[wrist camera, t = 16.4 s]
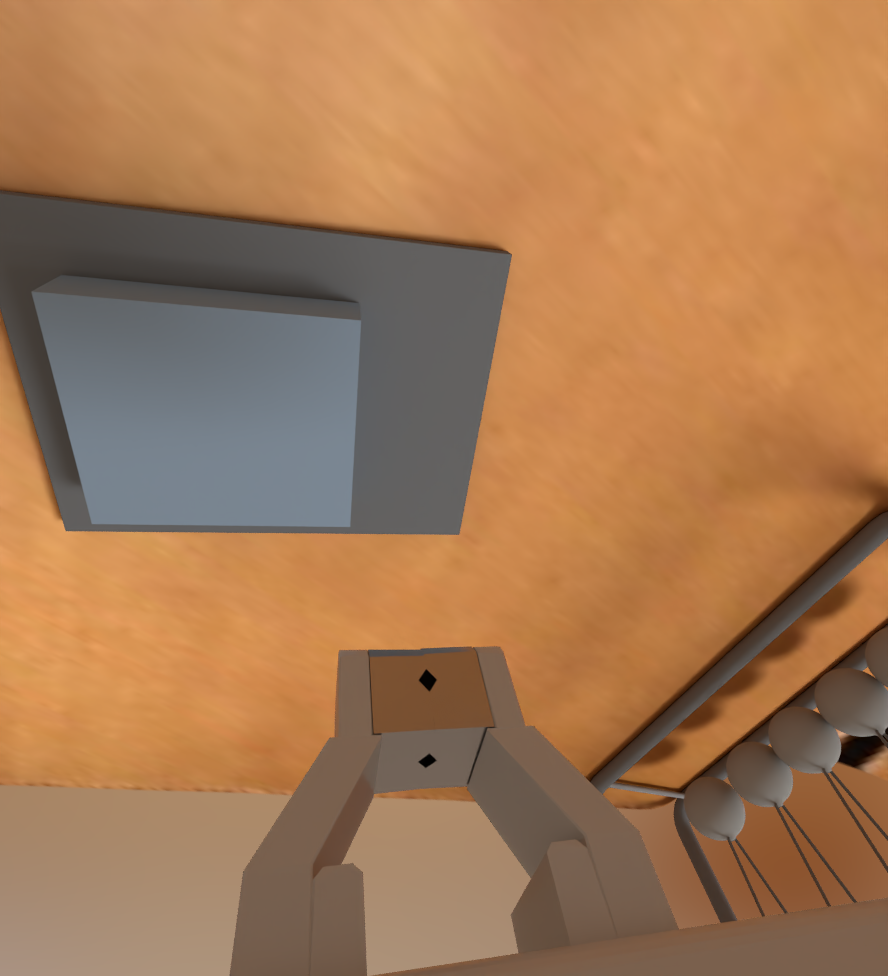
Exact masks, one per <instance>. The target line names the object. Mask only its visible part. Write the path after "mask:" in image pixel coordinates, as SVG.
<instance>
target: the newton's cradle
mask: <svg viewBox="0 0 888 976" xmlns="http://www.w3.org/2000/svg"><path fill="white" fill-rule="evenodd" d="M887 538H888V511H887V512H885V513H882V514H881V515H879V516H878V517H876V518H875V519H873V520H872V521H871V522H869V523H868V524H867V525H866V526H865V527H864V528H863V529H862V530H861V531H860V532H859V533H857V534H856V535H855V536H854V537H853V538H852V539H851V540H850V541H849V542H848V543H847V544H846V545H844V546H843V547H842V548H841V549H840V550H839V551H838V552H837V553H836V554H835V555H834V556H833V557H831V558H830V559H829V560H828V561H827V562H826V563H825V564H824V565H823V566H822V567H821V568H820V569H818V570H817V571H816V572H815V573H814V574H813V575H812V576H811V577H810V578H809V579H808V580H807V581H805V582H804V583H803V584H802V585H801V586H800V587H799V588H798V589H797V590H796V591H795V592H794V593H792V594H791V595H790V596H789V597H788V598H787V599H786V600H785V601H784V602H783V603H782V604H781V605H779V606H778V607H777V608H776V609H775V610H774V611H773V612H772V613H771V614H770V615H769V616H768V617H766V618H765V619H764V620H763V621H762V622H761V623H760V624H759V625H758V626H757V627H756V628H755V629H753V630H752V631H751V632H750V633H749V634H748V635H747V636H746V637H745V638H744V639H743V640H742V641H740V642H739V643H738V644H737V645H736V646H735V647H734V648H733V649H732V650H731V651H730V652H729V653H727V654H726V655H725V656H724V657H723V658H722V659H721V660H720V661H719V662H718V663H717V664H716V665H715V666H713V667H712V668H711V669H710V670H709V671H708V672H707V673H706V674H705V675H704V676H703V677H702V678H700V679H699V680H698V681H697V682H696V683H695V684H694V685H693V686H692V687H691V688H690V689H689V690H687V691H686V692H685V693H684V694H683V695H682V696H681V697H680V698H679V699H678V700H677V701H676V702H674V703H673V704H672V705H671V706H670V707H669V708H668V709H667V710H666V711H665V712H664V713H663V714H661V715H660V716H659V717H658V718H657V719H656V720H655V721H654V722H653V723H652V724H651V725H650V726H648V727H647V728H646V729H645V730H644V731H643V732H642V733H641V734H640V735H639V736H638V737H637V738H635V739H634V740H633V741H632V742H631V743H630V744H629V745H628V746H627V747H626V748H625V749H624V750H622V751H621V752H620V753H619V754H618V755H617V756H616V757H615V758H614V759H613V760H612V761H611V762H609V763H608V764H607V765H606V766H605V767H604V768H603V769H602V770H601V771H600V772H599V773H598V774H596V775H595V776H594V778H593V779H592V780H591V782H590V783H591V784H592V785H593V786H594V787H595V788H596V789H597V790H598V791H599V792H600V793H601V794H602V795H603V793H604V792H605V790H606V789H607V788H609V787H610V788H617V789H623V790H630V791H636V792H643V793H649V794H656V795H662V796H669V797H675V798H677V800H676V802H675V807H674V821H675V826H676V829H677V831H678V834H679V836H680V838H681V841H682V843H683V845H684V847H685V849H686V851H687V853H688V855H689V857H690V859H691V862H692V863H693V866H694V868H695V870H696V872H697V874H698V876H699V878H700V880H701V883H702V885H703V886H704V889H705V891H706V893H707V895H708V897H709V899H710V901H711V904H712V906H713V908H714V910H715V912H716V914H717V916H718V918H719V920H720V922H721V923H724V922H730V921H737V918H736V916H735V914H734V912H733V911H732V908H731V906H730V904H729V902H728V900H727V898H726V897H725V895H724V892H723V890H722V889H721V886H720V884H719V882H718V880H717V878H716V876H715V874H714V872H713V870H712V869H711V866H710V864H709V862H708V860H707V858H706V856H705V854H704V853H703V850H702V849H701V846H700V844H699V842H698V840H697V838H696V836H695V834H694V832H693V830H692V828H691V825H690V823H689V821H690V822H691V824H692V825H693V826H694V827H695V828H696V829H697V830H698V831H699V832H700V833H701V834H703V835H704V836H706V837H709V838H711V839H715V840H728V842H729V845H730V847H731V849H732V851H733V853H734V855H735V857H736V860H737V862H738V864H739V866H740V869H741V871H742V873H743V875H744V877H745V880H746V882H747V884H748V886H749V888H750V891H751V893H752V895H753V897H754V899H755V902H756V904H757V906H758V908H759V910H760V913H761V915H762V917H763V916H765V915H764V913H763V910H762V908H761V906H760V904H759V902H758V899H757V897H756V895H755V893H754V891H753V889H752V886H751V884H750V882H749V880H748V878H747V876H746V874H745V871H744V869H743V867H742V865H741V863H740V861H739V858H738V856H737V854H736V852H735V850H734V847H733V845H732V843H731V841H734V840H735V841H736V843H737V844H738V846H739V847H740V849H741V850H742V851H743V853H744V854H745V856H746V857H747V859H748V860H749V862H750V863H751V865H752V866H753V867H754V869H755V870H756V872H757V873H758V874H759V876H760V878H761V879H762V881H763V882H764V883H765V885H766V886H767V888H768V889H769V891H770V892H771V894H772V895H773V897H774V898H775V900H776V901H777V902H778V904H779V905H780V907H781V908H782V910H783V911H784V913H788V912H787V911H786V909H785V908H784V907H783V905H782V904H781V902H780V901H779V899H778V898H777V896H776V895H775V894H774V892H773V891H772V889H771V888H770V887H769V885H768V884H767V882H766V881H765V879H764V878H763V876H762V875H761V873H760V872H759V870H758V869H757V868H756V866H755V865H754V863H753V862H752V860H751V859H750V857H749V856H748V855H747V853H746V852H745V850H744V849H743V847H742V846H741V844H740V843H739V842H738V840H737V839H736V835H738V834H739V832H740V831H741V830H742V828H743V825H744V823H745V809H744V805H743V802H742V800H741V798H740V796H741V797H743V798H744V799H745V800H747V801H748V802H750V803H752V804H754V805H758V806H762V807H772V806H774V807H776V809H777V811H778V813H779V815H780V817H781V819H782V821H783V823H784V825H785V826H786V828H787V830H788V832H789V834H790V836H791V838H792V840H793V842H794V844H795V845H796V847H797V849H798V851H799V853H800V855H801V857H802V859H803V860H804V862H805V864H806V866H807V868H808V870H809V872H810V874H811V876H812V877H813V879H814V881H815V883H816V885H817V887H818V889H819V891H820V892H821V894H822V896H823V898H824V900H825V902H826V904H827V906H828V907H830V906H831V905H830V903H829V901H828V900H827V898H826V896H825V894H824V892H823V890H822V888H821V886H820V884H819V883H818V881H817V879H816V877H815V875H814V873H813V871H812V869H811V868H810V866H809V864H808V862H807V860H806V858H805V856H804V854H803V853H802V851H801V849H800V847H799V845H798V843H797V841H796V839H795V838H794V836H793V834H792V832H791V830H790V828H789V826H788V824H787V823H786V821H785V819H784V817H783V815H782V813H781V811H780V810H779V808H780V807H783V809H784V810H785V811H786V813H787V814H788V815H789V817H790V818H791V819H792V821H793V822H794V823H795V825H796V826H797V827H798V829H799V830H800V831H801V833H802V834H803V835H804V837H805V838H806V839H807V841H808V842H809V843H810V845H811V846H812V847H813V849H814V850H815V851H816V853H817V854H818V855H819V857H820V858H821V859H822V861H823V862H824V863H825V865H826V866H827V867H828V869H829V870H830V871H831V873H832V874H833V875H834V877H835V878H836V879H837V881H838V882H839V883H840V885H841V886H842V887H843V889H844V890H845V891H846V893H847V894H848V896H849V897H850V898H851V899H852V901H853V902H854V903H856V902H857V901H856V900H855V899H854V897H853V896H852V895H851V894H850V892H849V891H848V890H847V888H846V887H845V886H844V884H843V883H842V881H841V880H840V879H839V878H838V876H837V875H836V874H835V872H834V871H833V870H832V868H831V867H830V866H829V864H828V863H827V862H826V860H825V859H824V858H823V856H822V855H821V854H820V852H819V851H818V850H817V849H816V847H815V846H814V844H813V843H812V842H811V840H810V839H809V838H808V836H807V835H806V834H805V832H804V831H803V830H802V829H801V827H800V826H799V825H798V823H797V822H796V821H795V819H794V818H793V816H792V815H791V814H790V812H789V811H788V810H787V809H786V807H785V806H784V805H783V802H784V801H785V800H786V799H787V798H788V797H789V795H790V793H791V790H792V787H793V786H792V785H793V777H792V772H791V769H790V767H792V768H793V769H796V770H798V771H801V772H805V773H821V772H822V773H824V774H825V776H826V777H827V779H828V780H829V782H830V783H831V785H832V786H833V788H834V790H835V791H836V793H837V794H838V796H839V797H840V799H841V801H842V802H843V804H844V805H845V807H846V808H847V810H848V811H849V813H850V815H851V816H852V818H853V819H854V821H855V822H856V824H857V825H858V827H859V829H860V830H861V832H862V833H863V835H864V836H865V838H866V839H867V841H868V843H869V844H870V846H871V847H872V849H873V850H874V852H875V854H876V855H877V857H878V858H879V860H880V861H881V863H882V864H883V866H884V868H885V869H886V871H887V872H888V866H887V865H886V863H885V862H884V860H883V859H882V857H881V855H880V854H879V852H878V851H877V849H876V848H875V846H874V845H873V843H872V842H871V840H870V838H869V837H868V835H867V834H866V832H865V831H864V829H863V828H862V826H861V825H860V823H859V822H858V820H857V819H856V817H855V816H854V814H853V812H852V811H851V809H850V808H849V806H848V805H847V803H846V802H845V800H844V798H843V797H842V795H841V794H840V792H839V791H838V789H837V788H836V786H835V785H834V783H833V781H832V780H831V778H830V777H829V775H828V774H827V773H829V772H830V773H831V774H832V776H833V777H834V778H835V779H836V780H837V781H838V783H839V784H840V785H841V786H842V787H843V789H844V790H845V791H846V792H847V793H848V794H849V796H850V797H851V798H852V799H853V800H854V801H855V803H856V804H857V805H858V806H859V807H860V808H861V810H862V811H863V812H864V813H865V814H866V815H867V817H868V818H869V819H870V820H871V821H872V823H873V824H874V825H875V826H876V827H877V828H878V830H879V831H880V832H881V833H882V834H883V835H884V837H885V838H886V839H887V840H888V836H887V835H886V834H885V832H884V831H883V830H882V829H881V828H880V826H879V825H878V824H877V823H876V822H875V821H874V819H873V818H872V817H871V816H870V815H869V813H868V812H867V811H866V810H865V809H864V808H863V807H862V805H861V804H860V803H859V802H858V801H857V799H856V798H855V797H854V796H853V795H852V794H851V792H850V791H849V790H848V789H847V788H846V787H845V786H844V784H843V783H842V782H841V781H840V780H839V778H838V777H837V776H836V775H835V774H834V773H833V771H831V768H832V767H833V766H834V765H835V763H836V762H837V761H838V759H839V756H840V752H841V743H840V739H839V736H838V734H837V731H836V730H835V728H836V729H837V730H839V731H841V732H844V733H846V734H849V735H853V736H860V737H865V736H873V735H877V736H879V738H880V739H881V740H882V742H883V743H884V744H885V745H886V747H887V748H888V743H887V742H886V740H885V739H884V738H883V737H882V735H884V736H885V737H886V738H887V739H888V735H887V734H886V733H885V729H886V728H887V727H888V691H887V689H886V688H885V687H884V686H883V685H885V686H886V687H888V624H887V625H886V626H885V627H883V628H882V629H881V630H880V631H878V632H877V633H875V634H874V635H873V636H872V637H871V638H870V639H869V640H867V641H866V642H865V643H864V644H862V645H861V646H860V647H859V648H858V649H856V650H855V651H854V652H853V653H851V654H850V655H849V656H848V657H846V658H845V659H844V660H843V661H842V662H840V663H839V664H838V665H837V666H835V667H834V668H833V669H832V670H830V671H829V672H828V673H826V674H825V675H823V676H822V677H821V678H820V679H819V680H818V681H817V682H816V683H814V684H813V685H812V686H811V687H809V688H808V689H807V690H806V691H805V692H803V693H802V694H801V695H800V696H798V697H797V698H796V699H795V700H793V701H792V702H791V703H790V704H789V705H787V706H786V707H785V708H784V709H782V710H781V711H779V712H778V713H777V714H776V715H775V716H774V717H773V718H771V719H770V720H769V721H768V722H766V723H765V724H764V725H763V726H761V727H760V728H759V729H758V730H757V731H755V732H754V733H753V734H752V735H750V736H749V737H748V738H747V739H745V740H744V741H743V742H742V743H741V744H739V745H737V746H736V747H735V748H734V749H733V750H732V751H731V752H729V753H728V754H727V755H726V756H724V757H723V758H722V759H721V760H720V761H718V762H717V763H716V764H715V765H713V766H712V767H711V768H710V769H708V770H707V771H706V772H705V773H704V774H702V775H701V776H700V777H699V778H697V779H696V780H694V781H693V782H692V783H691V784H690V785H689V786H688V787H686V788H685V789H684V790H683V791H682V792H681V793H679V792H673V791H666V790H660V789H654V788H648V787H641V786H635V785H629V784H622V783H616V782H615V781H616V780H617V779H619V778H620V777H621V776H622V775H623V774H624V773H625V772H626V771H628V770H629V769H630V768H631V767H632V766H633V765H634V764H635V763H637V762H638V761H639V760H640V759H641V758H642V757H643V756H644V755H646V754H647V753H648V752H649V751H650V750H651V749H652V748H653V747H654V746H656V745H657V744H658V743H659V742H660V741H661V740H662V739H663V738H665V737H666V736H667V735H668V734H669V733H670V732H671V731H672V730H674V729H675V728H676V727H677V726H678V725H679V724H680V723H681V722H682V721H684V720H685V719H686V718H687V717H688V716H689V715H690V714H691V713H693V712H694V711H695V710H696V709H697V708H698V707H699V706H700V705H702V704H703V703H704V702H705V701H706V700H707V699H708V698H709V697H710V696H712V695H713V694H714V693H715V692H716V691H717V690H718V689H719V688H721V687H722V686H723V685H724V684H725V683H726V682H727V681H728V680H730V679H731V678H732V677H733V676H734V675H735V674H736V673H737V672H738V671H740V670H741V669H742V668H743V667H744V666H745V665H746V664H747V663H749V662H750V661H751V660H752V659H753V658H754V657H755V656H756V655H758V654H759V653H760V652H761V651H762V650H763V649H764V648H765V647H766V646H768V645H769V644H770V643H771V642H772V641H773V640H774V639H775V638H777V637H778V636H779V635H780V634H781V633H782V632H783V631H784V630H786V629H787V628H788V627H789V626H790V625H791V624H792V623H793V622H794V621H796V620H797V619H798V618H799V617H800V616H801V615H802V614H803V613H805V612H806V611H807V610H808V609H809V608H810V607H811V606H812V605H814V604H815V603H816V602H817V601H818V600H819V599H820V598H821V597H822V596H824V595H825V594H826V593H827V592H828V591H829V590H830V589H831V588H833V587H834V586H835V585H836V584H837V583H838V582H839V581H840V580H842V579H843V578H844V577H845V576H846V575H847V574H848V573H849V572H851V571H852V570H853V569H854V568H855V567H856V566H857V565H858V564H859V563H861V562H862V561H863V560H864V559H865V558H866V557H867V556H868V555H870V554H871V553H872V552H873V551H874V550H875V549H876V548H877V547H879V546H880V545H881V544H882V543H883V542H884V541H885V540H886V539H887ZM867 667H868V668H869V669H870V671H871V673H872V674H873V675H874V676H875V678H874V677H873V676H871V675H869V674H868V673H865V672H863V670H864V669H866V668H867ZM816 707H817V708H818V710H819V712H820V714H819V713H817V712H815V711H813V709H815V708H816ZM769 744H771V746H772V747H770V746H768V745H769ZM789 766H790V767H789ZM727 777H728V779H729V781H730V783H731V785H732V786H733V788H734V789H735V790H734V789H733V788H732V787H731V786H730V785H729V784H727V783H726V782H724V781H723V780H724V779H726V778H727ZM738 794H739V795H740V796H739V795H738Z"/></svg>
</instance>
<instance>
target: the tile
mask: <svg viewBox="0 0 888 976" xmlns="http://www.w3.org/2000/svg"><path fill="white" fill-rule="evenodd" d="M31 292H32V296H33V300H34V304H35V308H36V311H37V315H38V319H39V323H40V327H41V331H42V334H43V338H44V342H45V346H46V350H47V354H48V357H49V361H50V365H51V369H52V373H53V377H54V380H55V384H56V388H57V392H58V396H59V400H60V403H61V407H62V411H63V415H64V419H65V423H66V427H67V430H68V434H69V438H70V442H71V446H72V450H73V453H74V457H75V461H76V465H77V469H78V473H79V476H80V480H81V484H82V488H83V492H84V496H85V499H86V503H87V507H88V511H89V515H90V519H91V522H92V524H129V525H218V526H307V527H350V521H351V502H352V483H353V465H354V446H355V427H356V408H357V389H358V371H359V352H360V333H361V314H360V306H359V303H354V302H344V301H333V300H323V299H312V298H301V297H291V296H280V295H270V294H259V293H248V292H238V291H227V290H217V289H206V288H195V287H185V286H174V285H163V284H153V283H142V282H132V281H121V280H110V279H100V278H89V277H79V276H68V275H60V276H59V277H57V278H55V279H53V280H51V281H50V282H48V283H46V284H44V285H42V286H40V287H39V288H37V289H35V290H33V291H31Z"/></svg>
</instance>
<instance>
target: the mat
mask: <svg viewBox="0 0 888 976" xmlns="http://www.w3.org/2000/svg"><path fill="white" fill-rule="evenodd" d="M511 257H512V254H510V253H509V252H508V251H501V250H493V249H484V248H476V247H468V246H459V245H451V244H443V243H434V242H426V241H418V240H409V239H401V238H393V237H384V236H376V235H368V234H359V233H351V232H343V231H335V230H326V229H318V228H310V227H301V226H293V225H285V224H276V223H268V222H260V221H251V220H243V219H235V218H226V217H218V216H210V215H201V214H193V213H185V212H176V211H168V210H160V209H152V208H143V207H135V206H127V205H118V204H110V203H102V202H93V201H85V200H77V199H68V198H60V197H52V196H43V195H35V194H27V193H18V192H10V191H2V190H0V309H1V313H2V316H3V320H4V323H5V326H6V330H7V333H8V337H9V340H10V343H11V347H12V350H13V354H14V357H15V360H16V364H17V367H18V371H19V374H20V377H21V381H22V384H23V387H24V391H25V394H26V398H27V401H28V404H29V408H30V411H31V415H32V418H33V421H34V425H35V428H36V432H37V435H38V438H39V442H40V445H41V449H42V452H43V455H44V459H45V462H46V466H47V469H48V472H49V476H50V479H51V483H52V486H53V489H54V493H55V496H56V499H57V503H58V506H59V510H60V513H61V516H62V520H63V523H64V527H65V530H66V531H113V532H224V533H335V534H446V535H459V533H460V528H461V522H462V517H463V512H464V506H465V501H466V496H467V490H468V485H469V480H470V474H471V469H472V464H473V459H474V453H475V448H476V443H477V437H478V432H479V427H480V421H481V416H482V411H483V405H484V400H485V395H486V389H487V384H488V379H489V373H490V368H491V363H492V358H493V352H494V347H495V342H496V336H497V331H498V326H499V320H500V315H501V310H502V304H503V299H504V294H505V288H506V283H507V278H508V273H509V267H510V262H511ZM60 275H68V276H79V277H89V278H100V279H110V280H121V281H132V282H142V283H153V284H163V285H174V286H185V287H195V288H206V289H217V290H227V291H238V292H248V293H259V294H270V295H280V296H291V297H301V298H312V299H323V300H333V301H344V302H354V303H359V306H360V314H361V333H360V352H359V371H358V389H357V408H356V427H355V446H354V465H353V483H352V502H351V521H350V527H307V526H218V525H129V524H92V522H91V519H90V515H89V511H88V507H87V503H86V499H85V496H84V492H83V488H82V484H81V480H80V476H79V473H78V469H77V465H76V461H75V457H74V453H73V450H72V446H71V442H70V438H69V434H68V430H67V427H66V423H65V419H64V415H63V411H62V407H61V403H60V400H59V396H58V392H57V388H56V384H55V380H54V377H53V373H52V369H51V365H50V361H49V357H48V354H47V350H46V346H45V342H44V338H43V334H42V331H41V327H40V323H39V319H38V315H37V311H36V308H35V304H34V300H33V296H32V292H31V291H33V290H35V289H37V288H39V287H40V286H42V285H44V284H46V283H48V282H50V281H51V280H53V279H55V278H57V277H59V276H60Z"/></svg>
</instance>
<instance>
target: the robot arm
mask: <svg viewBox="0 0 888 976" xmlns="http://www.w3.org/2000/svg"><path fill="white" fill-rule="evenodd" d="M464 786H468V787H467V790H468V791H469V792H470V794H471V795H472V797H473V798H474V799H475V801H476V802H477V803H478V805H479V806H480V808H481V809H482V810H483V812H484V813H485V815H486V816H487V817H488V819H489V820H490V822H491V823H492V824H493V826H494V827H495V828H496V830H497V831H498V833H499V834H500V835H501V837H502V838H503V840H504V841H505V842H506V844H507V845H508V847H509V848H510V849H511V851H512V852H513V853H514V855H515V856H516V858H517V859H518V861H519V862H520V863H521V865H522V866H523V868H524V869H525V870H526V872H527V873H528V875H529V876H530V877H531V880H530V882H529V884H528V885H527V887H526V889H525V891H524V892H523V894H522V896H521V898H520V900H519V902H518V903H517V905H516V907H515V908H514V910H513V912H512V914H511V917H512V922H513V927H514V932H515V937H516V942H517V947H518V952H519V953H518V954H512V955H506V956H498V957H492V958H485V959H479V960H472V961H465V962H459V963H452V964H445V965H439V966H432V967H426V968H420V969H412V970H406V971H399V972H392V973H386V974H379V975H373V976H888V898H884V899H876V900H869V901H863V902H856V903H850V904H843V905H837V906H830V907H823V908H817V909H810V910H803V911H797V912H790V913H784V914H777V915H770V916H763V917H757V918H751V919H744V920H737V921H730V922H724V923H717V924H711V925H704V926H697V927H691V928H685V929H679V928H678V926H677V923H676V921H675V918H674V916H673V914H672V911H671V908H670V906H669V904H668V901H667V899H666V896H665V894H664V891H663V889H662V887H661V884H660V882H659V879H658V876H657V874H656V872H655V869H654V867H653V864H652V862H651V859H650V857H649V854H648V852H647V849H646V847H645V844H644V842H643V840H642V837H641V835H640V832H639V831H638V829H637V828H636V827H634V825H632V823H630V821H629V820H628V819H626V818H625V817H624V816H623V815H622V814H621V813H620V812H619V811H618V810H617V809H616V808H615V807H614V806H613V805H612V804H611V803H610V802H609V801H608V800H607V799H606V798H605V797H604V796H603V795H602V794H601V793H600V792H599V791H598V790H597V789H596V788H595V787H594V786H593V785H592V784H591V783H590V782H589V781H588V780H587V779H586V778H585V777H584V776H583V775H582V774H581V773H580V772H579V771H578V770H577V769H576V768H575V767H574V766H573V765H572V764H571V763H570V762H569V761H568V760H567V759H566V758H565V757H564V756H563V755H562V754H561V753H560V752H559V751H558V750H557V749H556V748H555V747H554V746H553V745H552V744H551V743H550V742H549V741H548V740H547V739H546V738H545V737H544V736H543V735H542V734H541V733H540V732H539V731H538V730H537V729H536V728H535V727H534V726H525V723H524V719H523V716H522V713H521V709H520V706H519V703H518V699H517V696H516V693H515V689H514V686H513V683H512V679H511V676H510V673H509V669H508V666H507V663H506V659H505V656H504V653H503V651H502V649H501V648H500V647H498V646H493V647H473V648H472V647H448V648H424V649H420V650H368V651H367V650H339V654H338V668H337V683H336V701H335V737H332V738H329V740H328V741H327V743H326V744H325V746H324V747H323V749H322V751H321V752H320V754H319V755H318V757H317V758H316V760H315V761H314V763H313V764H312V766H311V768H310V769H309V771H308V772H307V774H306V775H305V777H304V778H303V780H302V781H301V783H300V785H299V786H298V788H297V789H296V791H295V792H294V794H293V795H292V797H291V799H290V800H289V802H288V803H287V805H286V806H285V808H284V809H283V811H282V812H281V814H280V816H279V817H278V819H277V820H276V822H275V823H274V825H273V826H272V828H271V830H270V831H269V833H268V834H267V836H266V837H265V839H264V840H263V842H262V843H261V845H260V846H259V848H258V850H257V851H256V853H255V854H254V856H253V857H252V859H251V860H250V862H249V863H248V865H247V867H246V868H245V870H244V871H243V877H242V885H241V892H240V900H239V908H238V915H237V923H236V931H235V938H234V946H233V953H232V961H231V968H230V976H367V966H366V943H365V942H366V941H365V915H364V887H363V872H362V871H361V870H360V869H358V868H357V867H356V866H355V865H354V864H353V863H351V864H342V865H341V863H342V862H343V860H344V858H345V855H346V853H347V851H348V849H349V847H350V845H351V843H352V841H353V839H354V836H355V834H356V832H357V830H358V828H359V826H360V824H361V822H362V820H363V818H364V816H365V813H366V812H367V810H368V807H369V805H370V803H371V801H372V799H373V796H374V794H378V793H387V792H396V791H405V790H414V789H426V788H445V787H464Z"/></svg>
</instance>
